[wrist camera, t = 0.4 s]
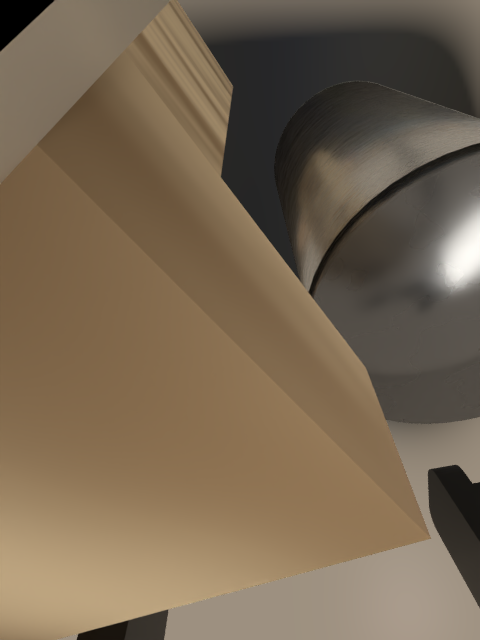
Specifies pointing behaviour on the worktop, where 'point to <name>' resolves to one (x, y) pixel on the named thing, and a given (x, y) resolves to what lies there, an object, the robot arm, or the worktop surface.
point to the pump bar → (56, 61)
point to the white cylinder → (391, 240)
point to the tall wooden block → (168, 370)
